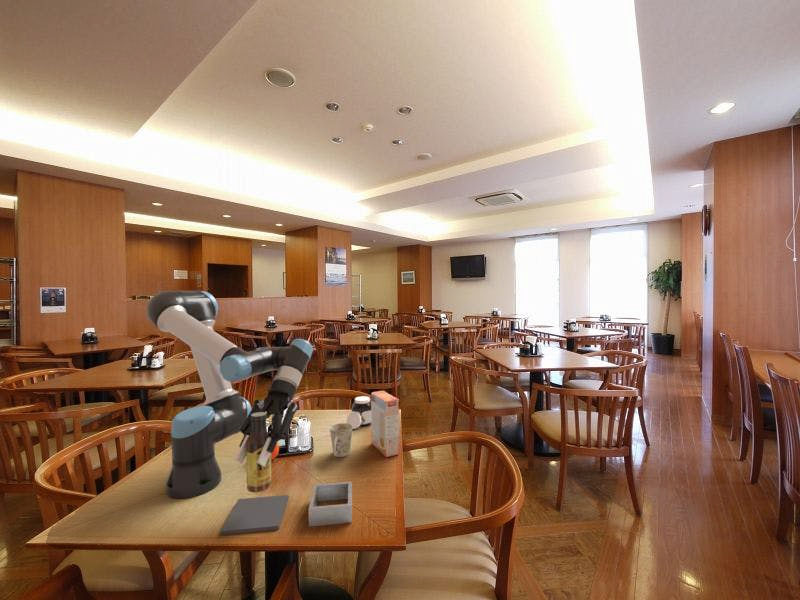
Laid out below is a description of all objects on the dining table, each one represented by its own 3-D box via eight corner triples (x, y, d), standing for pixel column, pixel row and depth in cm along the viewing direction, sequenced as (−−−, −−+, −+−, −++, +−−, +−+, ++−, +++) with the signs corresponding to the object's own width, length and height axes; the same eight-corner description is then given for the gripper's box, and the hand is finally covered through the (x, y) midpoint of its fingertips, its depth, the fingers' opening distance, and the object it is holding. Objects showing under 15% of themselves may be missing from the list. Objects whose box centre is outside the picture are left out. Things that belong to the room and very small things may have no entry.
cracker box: (400, 454, 131) (399, 398, 131) (385, 458, 129) (384, 401, 128) (384, 441, 144) (384, 389, 144) (371, 443, 141) (370, 391, 141)
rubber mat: (220, 535, 89) (220, 531, 89) (238, 502, 103) (238, 499, 103) (278, 529, 91) (278, 525, 90) (288, 498, 104) (288, 494, 104)
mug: (355, 449, 137) (354, 423, 137) (346, 464, 124) (346, 436, 124) (333, 448, 138) (333, 422, 137) (323, 464, 125) (323, 435, 125)
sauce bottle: (260, 495, 92) (258, 419, 92) (241, 491, 94) (239, 417, 94) (277, 482, 98) (275, 411, 98) (259, 479, 100) (257, 409, 100)
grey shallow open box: (308, 526, 91) (308, 509, 91) (314, 499, 103) (313, 484, 103) (351, 522, 93) (351, 505, 93) (352, 496, 105) (351, 481, 105)
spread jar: (373, 420, 168) (373, 395, 168) (373, 429, 156) (373, 403, 156) (348, 421, 167) (347, 396, 167) (346, 430, 156) (345, 404, 156)
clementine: (285, 455, 132) (284, 436, 132) (277, 464, 125) (277, 444, 125) (264, 455, 132) (263, 436, 132) (255, 464, 126) (254, 444, 125)
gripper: (317, 392, 108) (287, 472, 92) (264, 389, 113) (227, 463, 98) (308, 379, 103) (274, 461, 87) (252, 376, 108) (211, 453, 93)
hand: (249, 462), depth 93 cm, fingers closed on sauce bottle, 6 cm apart
